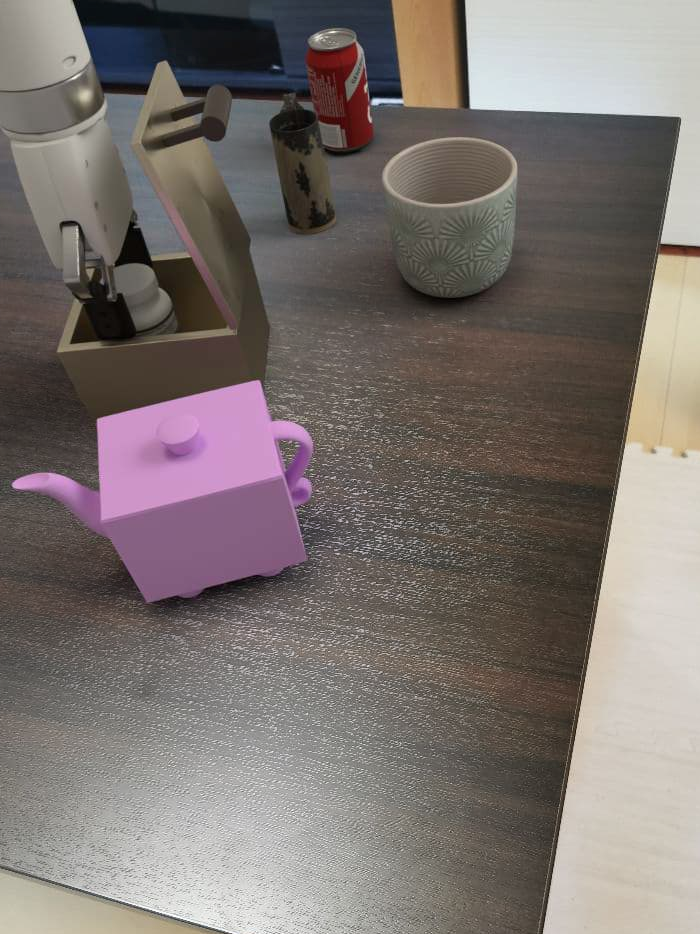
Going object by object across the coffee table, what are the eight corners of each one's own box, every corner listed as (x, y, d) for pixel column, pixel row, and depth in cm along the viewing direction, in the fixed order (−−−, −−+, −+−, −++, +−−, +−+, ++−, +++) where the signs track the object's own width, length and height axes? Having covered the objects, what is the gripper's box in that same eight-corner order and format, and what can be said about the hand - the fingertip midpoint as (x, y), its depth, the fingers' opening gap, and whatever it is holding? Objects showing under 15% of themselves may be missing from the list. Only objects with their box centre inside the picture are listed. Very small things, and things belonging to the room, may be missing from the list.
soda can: (342, 162, 101) (326, 56, 92) (309, 145, 105) (290, 41, 95) (385, 140, 104) (373, 35, 94) (351, 124, 107) (336, 21, 98)
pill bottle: (127, 363, 79) (87, 271, 71) (185, 343, 80) (152, 251, 72) (140, 399, 76) (99, 307, 68) (200, 378, 77) (167, 285, 69)
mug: (339, 230, 92) (321, 119, 83) (289, 238, 92) (265, 128, 82) (332, 193, 97) (314, 85, 88) (285, 201, 97) (262, 93, 87)
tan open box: (97, 431, 75) (56, 352, 68) (121, 341, 83) (87, 262, 76) (261, 415, 74) (236, 334, 67) (269, 326, 82) (248, 245, 75)
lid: (129, 144, 55) (204, 120, 54) (157, 62, 63) (223, 40, 62) (230, 330, 67) (293, 313, 66) (243, 241, 75) (299, 225, 74)
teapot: (318, 471, 69) (288, 350, 60) (344, 565, 63) (315, 446, 53) (76, 532, 67) (4, 418, 58) (78, 635, 61) (-3, 526, 51)
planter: (407, 322, 81) (396, 217, 72) (383, 252, 88) (370, 151, 80) (531, 296, 81) (535, 190, 73) (496, 229, 89) (496, 126, 81)
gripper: (24, 47, 64) (103, 248, 78) (-42, 162, 53) (63, 372, 67) (121, 38, 64) (183, 242, 77) (74, 153, 53) (156, 365, 67)
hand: (127, 302), depth 72 cm, fingers open, 8 cm apart
